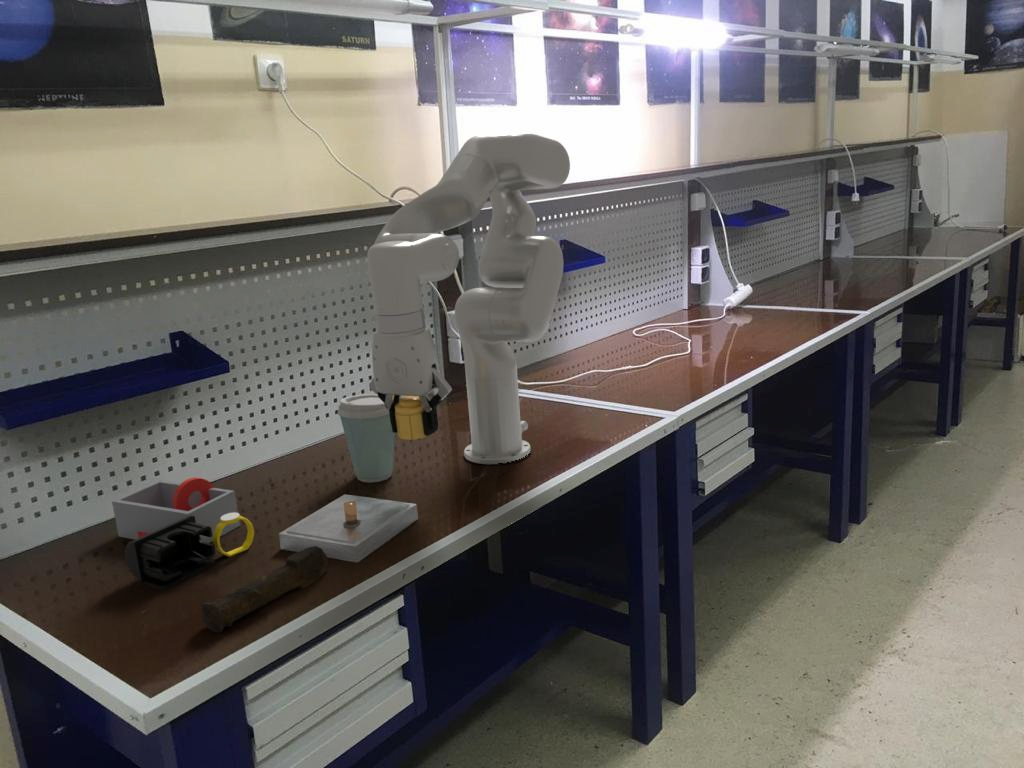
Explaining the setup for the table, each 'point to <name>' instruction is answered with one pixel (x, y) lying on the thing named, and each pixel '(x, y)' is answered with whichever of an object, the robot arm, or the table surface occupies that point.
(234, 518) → the watch
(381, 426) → the disposable coffee cup
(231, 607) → the dark brown wood branch
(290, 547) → the plate
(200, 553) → the end cap
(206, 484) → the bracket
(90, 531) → the table surface
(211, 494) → the parts corral
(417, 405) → the wire nut
